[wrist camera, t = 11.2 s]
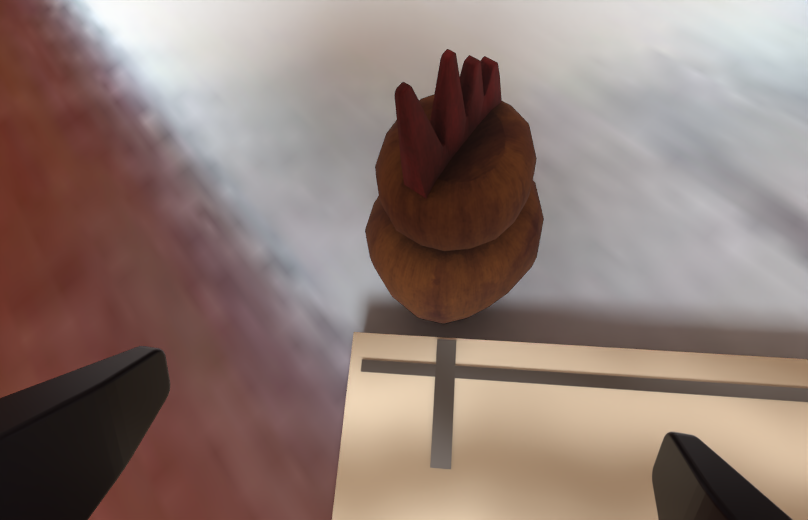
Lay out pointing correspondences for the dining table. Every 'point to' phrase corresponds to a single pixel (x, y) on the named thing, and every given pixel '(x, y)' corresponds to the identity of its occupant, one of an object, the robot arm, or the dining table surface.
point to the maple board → (555, 427)
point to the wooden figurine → (455, 196)
